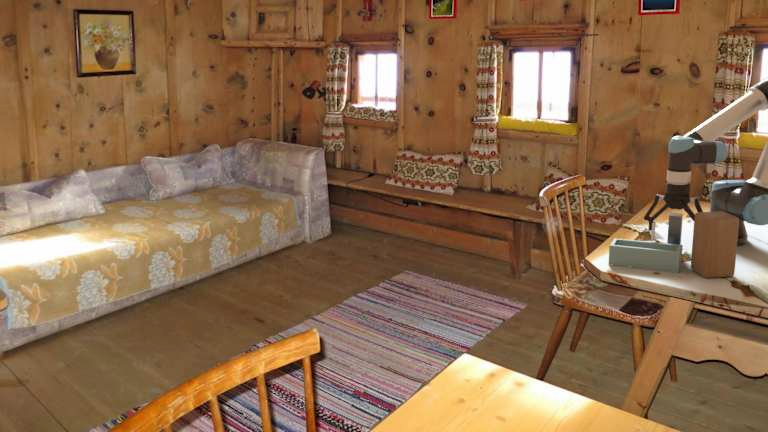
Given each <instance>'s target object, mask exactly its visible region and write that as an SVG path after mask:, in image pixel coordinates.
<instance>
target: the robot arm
mask: <svg viewBox="0 0 768 432" xmlns="http://www.w3.org/2000/svg"><path fill="white" fill-rule="evenodd" d="M766 110H768V76H767V77H766V78H764V79H762V80H760V81H759V82H757V83H755V84H753V85H752V86H751V87H749V88H748V89H747V90H746V93H745V94H744V95H743V96H741V97H739V98H738V99H736V100H735V101H734V102H732V103H730V104H729V105H728V106H726V107H725V108H723V109H722V110H720V111H719V112H717V113H715V114H714V115H712V116H711V117H710V118H708V119H706V120H705V121H704V122H702V123H700V125H698V126H697V127H695V128H694V129H692V130H690V131H688V132H687V133H686V134H684V135H682V134H681V135H680V134H679V135H675V136H673V137H671V138H670V140H669V142H668V146H667V148H668V159H667V170H666V181H667V182H666V184H665V194H664V195H661V194H659V193H657V194H656V195H655V197H654V202H652V205H651V206H650V207H649V209H648V211H646V213H645V215H644V216H643V220H644V221H647V222H648V231H650V232H651V233H650V235H651V236H650V241H654V240H655V235H656V234H655V233H656V223H657V222H656V219H657V218H658V217H660V216H661V214H663V213H664V212H665V210H666V211H667V209H668V208H669V209H670V210H678V211H679V210H680V211H681V210H684V212H686V214H687V215H688V217H690V218H691V220H692V221H693V222H694V218H695V213H694V212H693V210H691V207H690V206H689V204H690V202H691V203H692V204H693V205H694V207H695V210H696V211H697V212H696V213H698V212H704V211H703V208H702V206H701V205H700V197H699V196H696V197H691V196H690V190H691V184H690V183H691V181H692V179H691V178H692V169H693V166H695V165H709V164H712V165H714V164H719V163H720V164H721V163H723V162H724V161H726V159H727V156H728V147H727V145H726V143H724V142H723V141H718V140H717V139H719V138H720V137H722V136H723V135H725V134H727V133H728V132H729V131H731V130H732V129H734V128H735V127H737V126H738V125H741V124H742V123H743V122H745V121H746V120H747V119H749V118H751V117H752V116H753V115H755V114H756V113H758V112H760V111H761V112H762V111H763V112H764V111H766ZM716 140H717V141H716ZM710 193H711V194H710V206H709V212H712V211H723V212H726V213H728V214H731V215H733V216H735V217H738V218H739V230H738V240H737V246H743V245H745V244H747V243H748V233H747V229H746V226H745V225H746V224H745V222H746V223H748V224H750V225H756V226H766V225H768V139H767V140H766V143H765V145H764V148H763V150H762V152H761V155H760V157H759V159H758V162H757V165H756V167H755V170H754V171H753V174H752V176H751V178H749V179H747V180H744V179H723V180H716V181H713V183H712V185H711V190H710ZM662 200H664V202H665V204H664V205H663V206H661V207H660V209H658V210H657V211H656V212H655V213H654V214H653V215H652V216H650V215H651V214H652V212H653V211H654V209H655V208H656V206H657V205H658V203H659V202H661V201H662Z"/></svg>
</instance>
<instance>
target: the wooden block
mask: <svg viewBox="0 0 768 432" xmlns="http://www.w3.org/2000/svg"><path fill="white" fill-rule="evenodd" d="M694 214H695V218H694V221H693V231H692V232H693V233H692V234H693V235H692V244H691V245H692V247H691V259H690V269H691V271H694V272H695V273H697V274H698V275H699V276H702V277H704V278H705V279H714V278H727V277H733V276H734V275H735V271H736V269H735V268H736V259H737V250H738V249H737V247H738V245H737V240H738V230H739V218H738V217H735V216H733V215H731V214H728V213H726V212H723V211H712V212H710V211H703V212H695V213H694Z"/></svg>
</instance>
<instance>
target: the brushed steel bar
mask: <svg viewBox="0 0 768 432" xmlns="http://www.w3.org/2000/svg"><path fill="white" fill-rule="evenodd" d="M683 217H684V214H683V213H675V212H670V213H669V215H668V229H667V240H666V241H667V242H666V243H668V244H678V245H682V244H681V243H682V232H683V219H684V218H683Z"/></svg>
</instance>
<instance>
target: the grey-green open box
mask: <svg viewBox="0 0 768 432" xmlns="http://www.w3.org/2000/svg"><path fill="white" fill-rule="evenodd" d="M683 248H684V247H683V244H681V245H678V244H668V243H667V242H664V243H663V242H655V241H644V240H633V239H624V238H613V240H612V241H611V242H610V244H609V249H608V250H609V252H608V253H609V254H608V265H609V264H613V265H612V266H617V265H620V266H619V267H625V266H631V267H630V268H634V267H637V268H638V269H643V268H644V269H645V270H651V269H653V271H661V270H662V271H661V272H668V273H669V272H670V273H679V272H680V269H681V266H682V260H683V258H682V257H683ZM621 265H622V266H621ZM637 268H636V269H637ZM644 269H643V270H644Z"/></svg>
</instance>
